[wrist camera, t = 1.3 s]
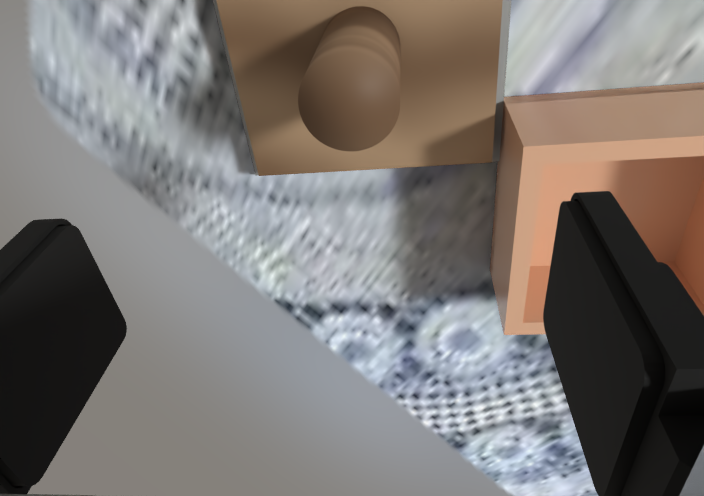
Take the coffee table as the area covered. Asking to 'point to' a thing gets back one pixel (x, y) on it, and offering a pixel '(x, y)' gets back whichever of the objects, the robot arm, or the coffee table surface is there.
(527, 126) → the open wooden box
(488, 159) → the lid
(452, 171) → the coffee table surface
